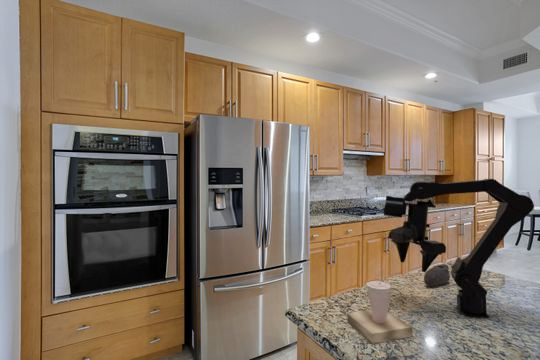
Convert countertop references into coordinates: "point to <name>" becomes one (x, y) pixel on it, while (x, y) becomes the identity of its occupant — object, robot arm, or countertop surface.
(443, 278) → the perforated stone tool
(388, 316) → the plinth
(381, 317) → the smoothie
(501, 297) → the countertop surface
